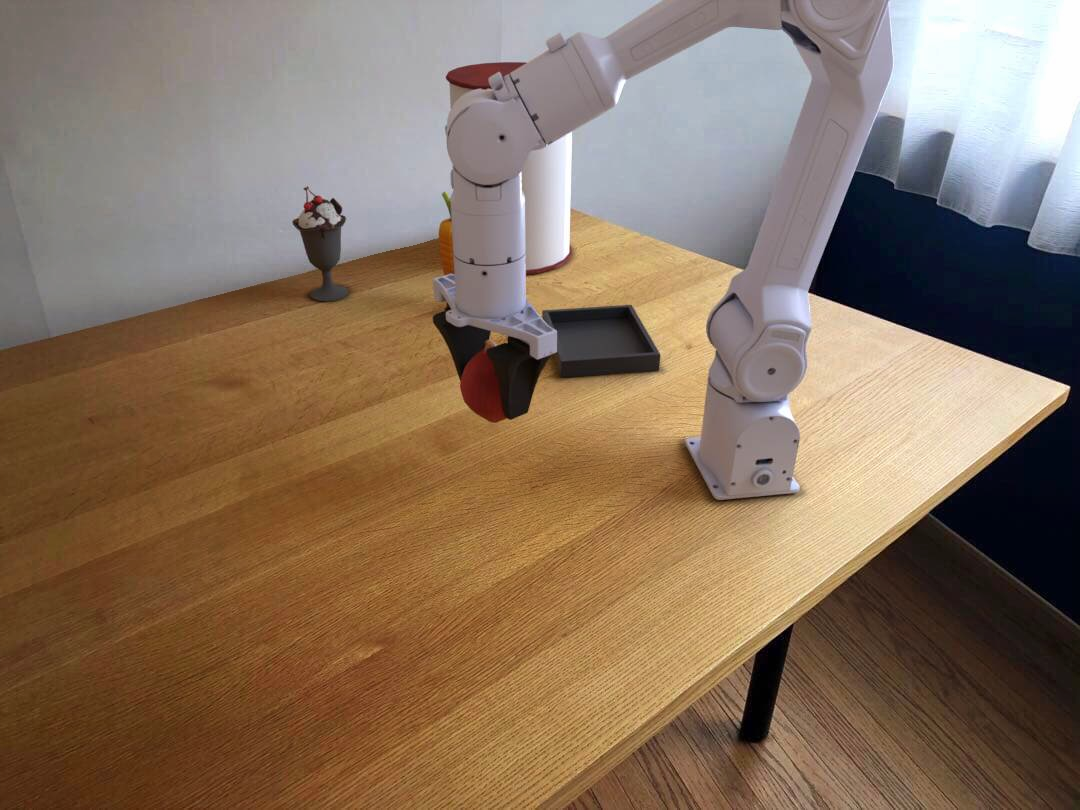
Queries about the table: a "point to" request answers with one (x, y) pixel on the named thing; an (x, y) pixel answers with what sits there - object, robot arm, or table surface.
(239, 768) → the table surface
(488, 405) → the onion
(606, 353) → the tray
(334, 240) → the sundae
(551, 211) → the container
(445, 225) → the carrot
